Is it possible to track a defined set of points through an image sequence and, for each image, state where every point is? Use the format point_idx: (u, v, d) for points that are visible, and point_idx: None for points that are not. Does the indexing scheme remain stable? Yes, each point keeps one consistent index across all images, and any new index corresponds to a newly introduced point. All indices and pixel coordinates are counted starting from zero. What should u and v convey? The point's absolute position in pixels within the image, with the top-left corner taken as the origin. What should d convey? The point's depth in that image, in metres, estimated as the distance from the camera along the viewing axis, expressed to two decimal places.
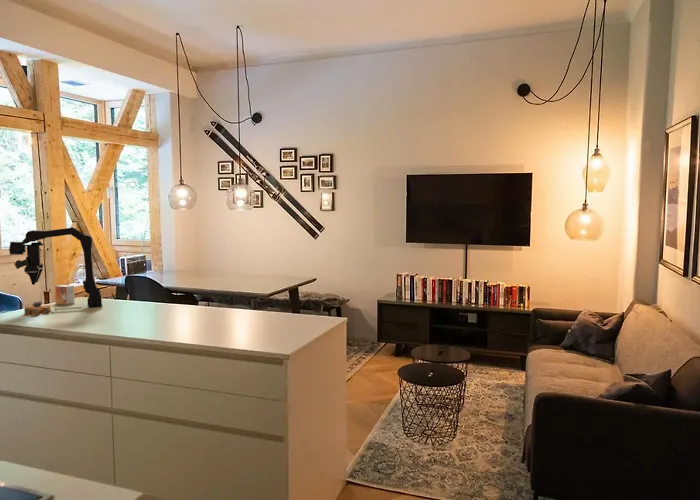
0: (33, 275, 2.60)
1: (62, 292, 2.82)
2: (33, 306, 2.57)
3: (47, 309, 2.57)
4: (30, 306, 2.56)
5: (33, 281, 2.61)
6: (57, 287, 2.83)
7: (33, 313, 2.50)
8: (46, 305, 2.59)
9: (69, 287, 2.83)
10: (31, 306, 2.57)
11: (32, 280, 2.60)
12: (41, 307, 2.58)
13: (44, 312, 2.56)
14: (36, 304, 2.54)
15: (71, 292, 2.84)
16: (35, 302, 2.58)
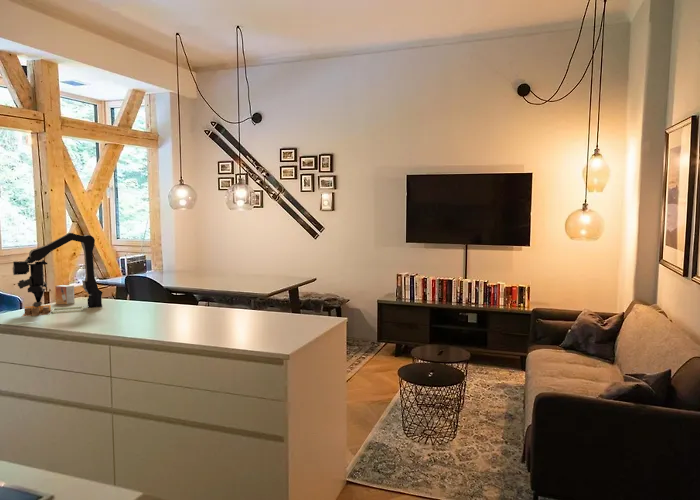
0: (38, 294, 2.59)
1: (62, 292, 2.82)
2: (33, 306, 2.57)
3: (47, 309, 2.57)
4: (30, 306, 2.57)
5: (38, 300, 2.60)
6: (57, 287, 2.83)
7: (33, 313, 2.50)
8: (46, 305, 2.59)
9: (69, 287, 2.83)
10: (31, 306, 2.57)
11: (37, 299, 2.59)
12: (41, 307, 2.58)
13: (44, 312, 2.56)
14: (36, 304, 2.54)
15: (71, 292, 2.84)
16: (35, 302, 2.58)
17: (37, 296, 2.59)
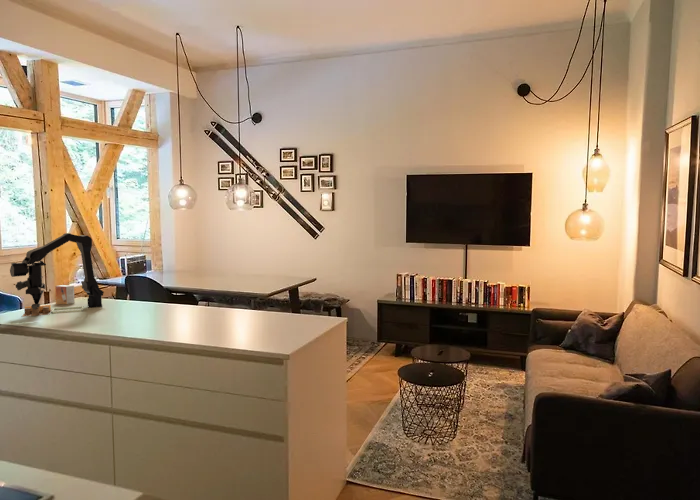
0: (36, 295, 2.54)
1: (62, 292, 2.82)
2: None
3: (47, 309, 2.57)
4: (30, 306, 2.57)
5: (36, 302, 2.54)
6: (57, 287, 2.83)
7: (33, 313, 2.50)
8: (46, 305, 2.59)
9: (69, 287, 2.83)
10: None
11: (35, 301, 2.54)
12: (41, 307, 2.58)
13: (44, 312, 2.56)
14: (34, 306, 2.49)
15: (71, 292, 2.84)
16: (33, 304, 2.53)
17: (35, 298, 2.54)
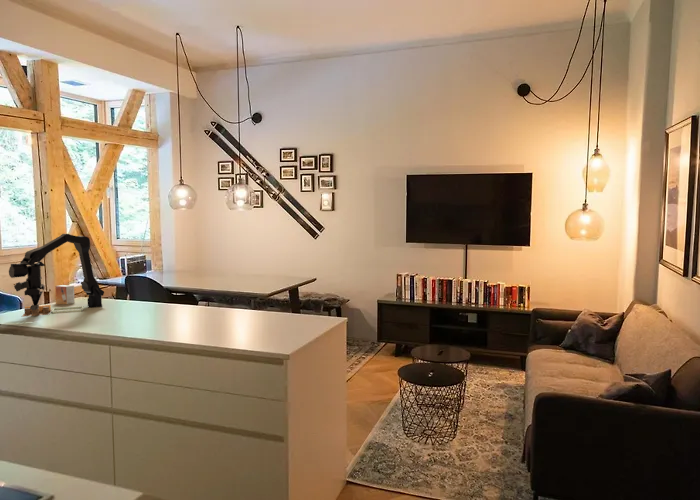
0: (35, 296, 2.51)
1: (62, 292, 2.82)
2: None
3: (47, 309, 2.57)
4: (30, 306, 2.56)
5: (35, 303, 2.51)
6: (57, 287, 2.83)
7: (33, 313, 2.50)
8: (46, 305, 2.59)
9: (69, 287, 2.83)
10: None
11: (34, 302, 2.51)
12: (41, 307, 2.58)
13: (44, 312, 2.56)
14: (33, 307, 2.46)
15: (71, 292, 2.84)
16: (32, 305, 2.50)
17: (34, 299, 2.51)
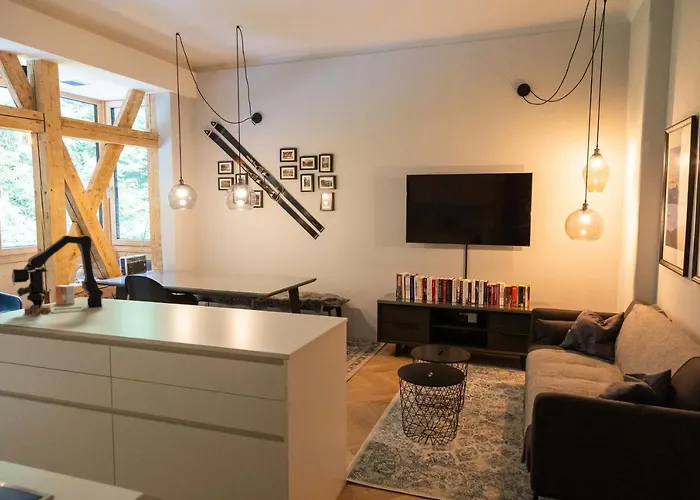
0: (37, 302, 2.55)
1: (62, 292, 2.82)
2: None
3: (47, 309, 2.57)
4: (30, 306, 2.56)
5: None
6: (57, 287, 2.83)
7: (33, 313, 2.50)
8: (46, 305, 2.59)
9: (69, 287, 2.83)
10: None
11: None
12: (41, 307, 2.58)
13: (44, 312, 2.56)
14: (33, 307, 2.46)
15: (71, 292, 2.84)
16: (32, 305, 2.50)
17: (36, 304, 2.55)
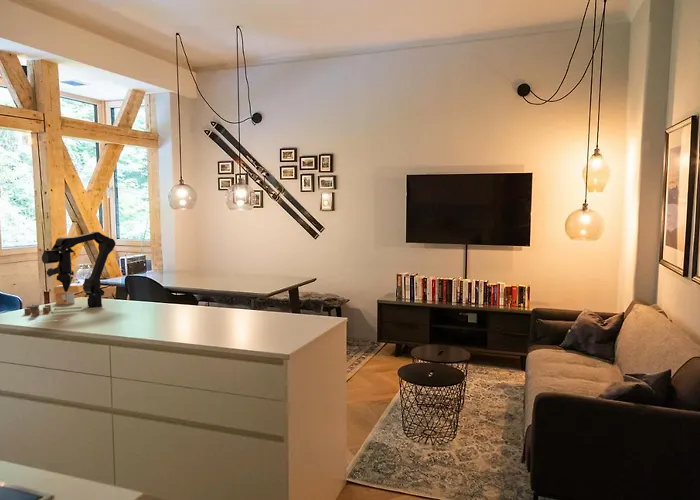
0: (66, 282, 2.60)
1: None
2: (62, 286, 2.62)
3: (47, 309, 2.57)
4: (59, 286, 2.61)
5: (66, 288, 2.61)
6: None
7: (33, 313, 2.50)
8: (74, 285, 2.64)
9: None
10: (60, 286, 2.61)
11: (65, 287, 2.60)
12: (69, 287, 2.62)
13: (44, 312, 2.56)
14: (33, 307, 2.46)
15: (71, 292, 2.84)
16: (32, 305, 2.50)
17: (65, 285, 2.60)
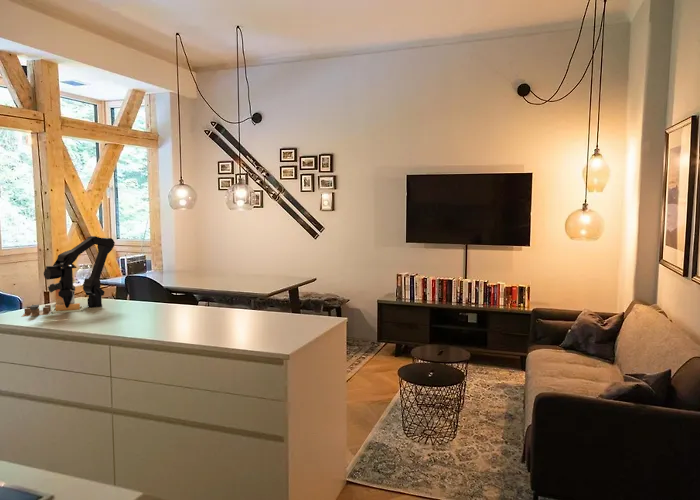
0: (67, 298, 2.60)
1: None
2: (63, 304, 2.62)
3: (47, 309, 2.57)
4: None
5: (67, 304, 2.60)
6: None
7: (33, 313, 2.50)
8: (76, 303, 2.65)
9: None
10: (61, 304, 2.62)
11: (66, 303, 2.60)
12: (71, 305, 2.63)
13: (44, 312, 2.56)
14: (33, 307, 2.46)
15: None
16: (32, 305, 2.50)
17: (66, 300, 2.60)
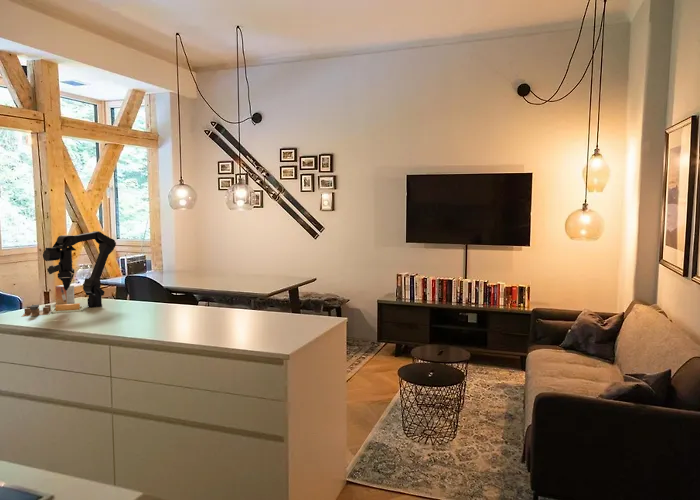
0: (66, 281, 2.58)
1: (62, 292, 2.82)
2: (63, 304, 2.62)
3: (47, 309, 2.57)
4: None
5: (66, 287, 2.58)
6: (57, 287, 2.83)
7: (33, 313, 2.50)
8: None
9: (69, 287, 2.83)
10: (61, 304, 2.62)
11: (65, 286, 2.58)
12: (71, 306, 2.63)
13: (44, 312, 2.56)
14: (33, 307, 2.46)
15: (71, 292, 2.84)
16: (32, 305, 2.50)
17: (65, 283, 2.58)
